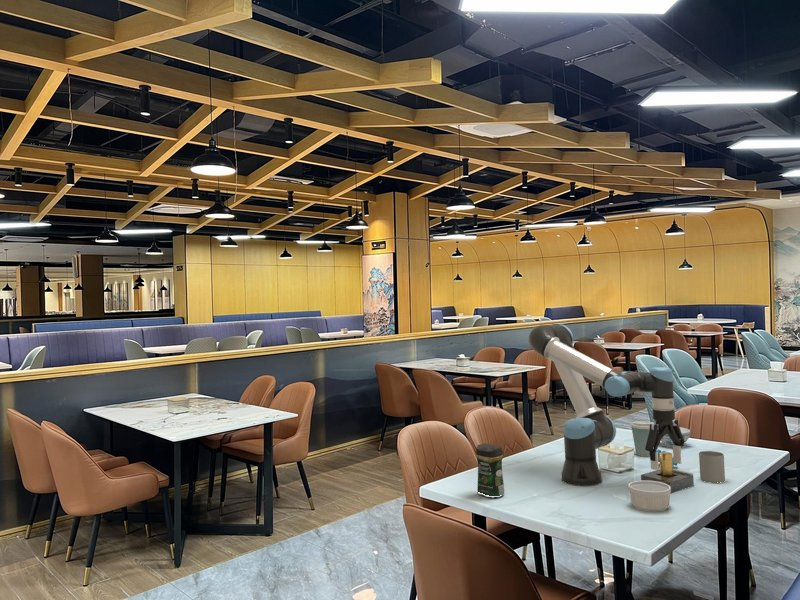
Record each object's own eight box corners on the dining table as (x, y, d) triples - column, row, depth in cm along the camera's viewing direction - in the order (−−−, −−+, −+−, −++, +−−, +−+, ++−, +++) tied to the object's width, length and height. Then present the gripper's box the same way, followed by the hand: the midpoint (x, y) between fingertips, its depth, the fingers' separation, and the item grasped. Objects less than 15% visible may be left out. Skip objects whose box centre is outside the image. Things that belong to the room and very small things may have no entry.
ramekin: (622, 507, 195) (621, 486, 195) (639, 497, 204) (637, 477, 205) (662, 516, 186) (661, 494, 186) (678, 505, 195) (677, 484, 195)
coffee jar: (473, 495, 214) (471, 444, 215) (487, 490, 220) (485, 440, 220) (494, 500, 207) (492, 448, 208) (508, 495, 213) (505, 444, 213)
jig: (670, 493, 207) (669, 480, 207) (641, 485, 217) (640, 473, 218) (693, 485, 214) (693, 473, 214) (664, 478, 225) (663, 466, 225)
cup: (711, 484, 215) (710, 457, 216) (695, 478, 223) (693, 452, 224) (730, 481, 218) (728, 454, 218) (713, 475, 226) (711, 450, 226)
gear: (684, 464, 238) (668, 448, 236) (678, 476, 235) (662, 460, 234) (662, 462, 248) (647, 447, 246) (657, 473, 245) (641, 458, 244)
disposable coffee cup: (628, 452, 266) (626, 419, 267) (652, 451, 266) (650, 419, 266) (636, 458, 256) (635, 424, 256) (661, 457, 255) (660, 423, 256)
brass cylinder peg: (669, 488, 213) (667, 455, 213) (658, 485, 217) (656, 453, 217) (676, 486, 215) (674, 453, 215) (665, 483, 219) (664, 451, 219)
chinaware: (665, 441, 285) (664, 425, 285) (696, 445, 274) (695, 429, 274) (650, 446, 276) (649, 430, 276) (682, 451, 264) (681, 434, 264)
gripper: (651, 414, 207) (654, 474, 206) (692, 406, 220) (695, 462, 219) (633, 411, 213) (636, 469, 213) (674, 404, 226) (677, 458, 226)
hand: (666, 466), depth 216 cm, fingers open, 13 cm apart
